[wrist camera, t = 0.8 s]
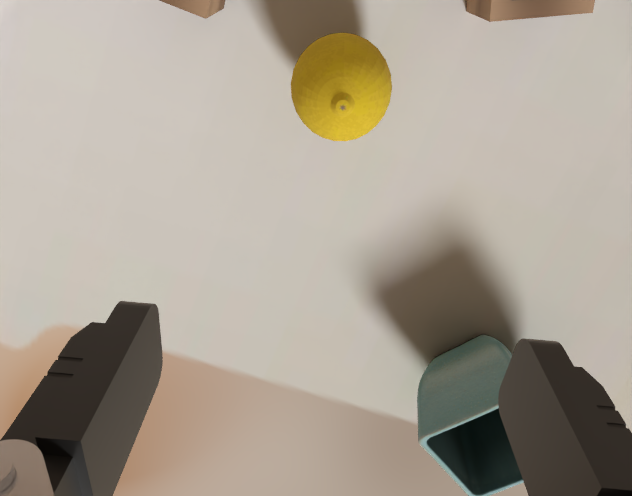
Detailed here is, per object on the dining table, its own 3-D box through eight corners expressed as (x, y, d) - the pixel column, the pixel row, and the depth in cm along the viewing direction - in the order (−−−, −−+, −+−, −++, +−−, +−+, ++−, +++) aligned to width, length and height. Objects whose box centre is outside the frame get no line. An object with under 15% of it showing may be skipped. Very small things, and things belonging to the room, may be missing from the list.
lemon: (280, 92, 32) (267, 132, 25) (320, 6, 29) (317, 24, 22) (357, 130, 33) (364, 178, 26) (401, 51, 30) (422, 81, 24)
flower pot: (399, 353, 43) (415, 442, 35) (493, 305, 40) (532, 390, 32) (449, 411, 47) (474, 503, 39) (539, 370, 44) (584, 461, 36)
